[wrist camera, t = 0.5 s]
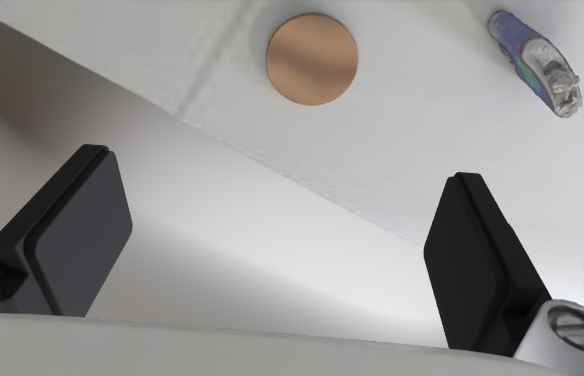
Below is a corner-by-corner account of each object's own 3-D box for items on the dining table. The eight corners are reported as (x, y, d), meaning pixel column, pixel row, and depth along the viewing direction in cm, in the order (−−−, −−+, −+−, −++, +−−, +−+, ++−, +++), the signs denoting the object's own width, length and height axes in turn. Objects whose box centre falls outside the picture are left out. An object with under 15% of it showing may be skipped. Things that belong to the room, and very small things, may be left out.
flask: (481, 22, 41) (524, 58, 32) (509, 0, 39) (562, 32, 31) (523, 86, 44) (571, 134, 36) (550, 68, 43) (607, 114, 34)
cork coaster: (269, 8, 41) (268, 9, 41) (365, 19, 41) (366, 20, 41) (264, 98, 47) (263, 100, 47) (348, 108, 47) (349, 110, 47)
